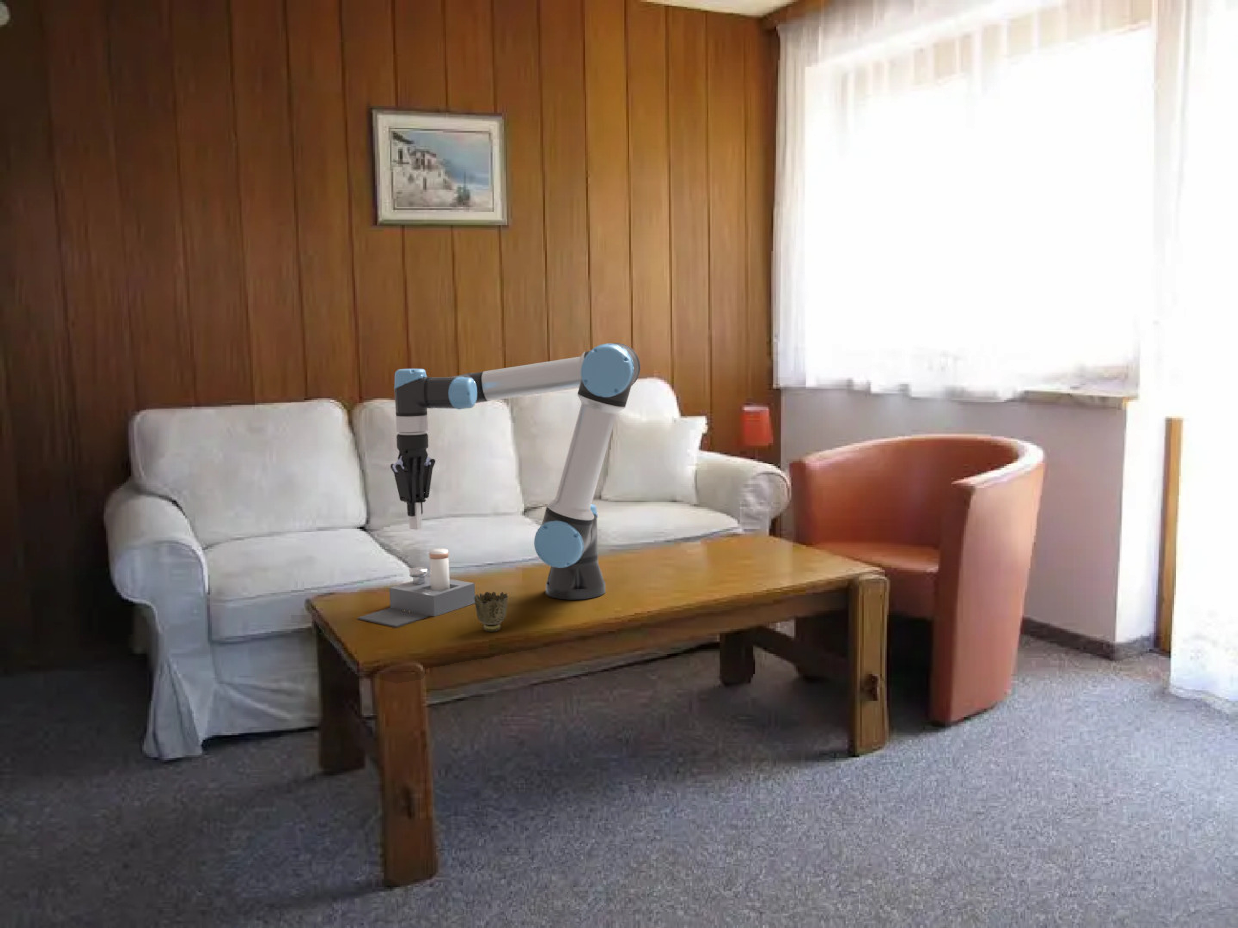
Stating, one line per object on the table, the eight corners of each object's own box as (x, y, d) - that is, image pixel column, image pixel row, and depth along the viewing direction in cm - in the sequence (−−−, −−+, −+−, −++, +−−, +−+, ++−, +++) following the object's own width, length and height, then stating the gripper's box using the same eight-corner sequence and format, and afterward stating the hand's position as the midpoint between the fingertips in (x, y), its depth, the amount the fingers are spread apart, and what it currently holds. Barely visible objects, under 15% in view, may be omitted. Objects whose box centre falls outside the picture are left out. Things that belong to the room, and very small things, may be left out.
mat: (428, 617, 248) (428, 615, 248) (396, 627, 240) (396, 625, 240) (390, 609, 255) (390, 607, 255) (358, 619, 247) (357, 617, 247)
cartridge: (454, 606, 257) (452, 549, 255) (441, 610, 253) (438, 553, 251) (441, 603, 260) (438, 547, 258) (427, 607, 256) (425, 551, 254)
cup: (469, 633, 234) (468, 598, 233) (485, 624, 241) (483, 590, 240) (499, 636, 232) (498, 601, 231) (514, 627, 239) (513, 592, 237)
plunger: (432, 592, 261) (431, 568, 260) (419, 596, 257) (418, 572, 256) (419, 589, 263) (418, 566, 263) (406, 593, 260) (405, 569, 259)
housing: (475, 603, 259) (474, 583, 259) (434, 616, 248) (433, 596, 247) (431, 594, 268) (430, 575, 267) (390, 607, 257) (389, 587, 256)
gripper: (420, 429, 262) (424, 522, 266) (381, 434, 252) (385, 531, 255) (442, 431, 258) (445, 525, 261) (403, 436, 247) (406, 535, 251)
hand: (415, 528), depth 258 cm, fingers closed
